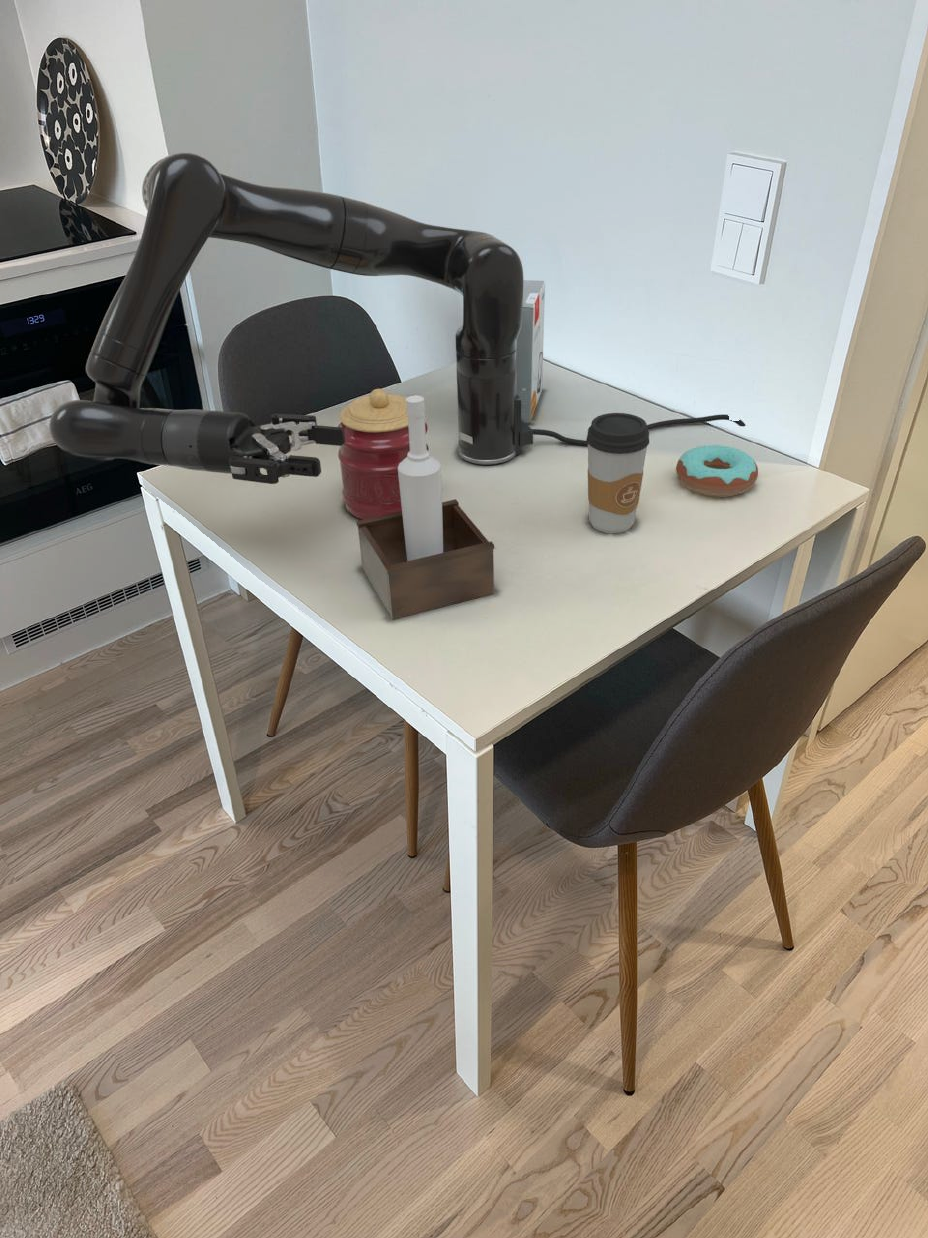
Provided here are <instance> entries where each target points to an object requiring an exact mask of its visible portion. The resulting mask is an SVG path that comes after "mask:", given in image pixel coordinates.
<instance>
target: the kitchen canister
mask: <svg viewBox="0 0 928 1238" xmlns="http://www.w3.org/2000/svg"><path fill="white" fill-rule="evenodd" d="M406 399H407V397H406V398H405V397H404V396H402V395H398V394H393V393H388V392H387V391H386V390H385V389H383V388H375V389H373V390H372V391H371V392H370V393H369V394H368V395H364V396H361V397H359V398H357V399H355V400H353V401H351V403H350V404H348V405H347V406H345V407H344V408H343V409H342V410H341V411H340V413H339V420H340V423H339V424H338V425H337V427H341V428H343V429H344V433H345V443H344V444H343V445H342V446H339V449H338V452H337V453H338V454H337V457H338V460H339V463H340V472H341V473H340V474H341V480H342V499H343V502H344V504H345V507H346V511H348V513H349V514H351V515H352V516H353V517H355V518H357V519H359V520H364V519H369V518H373V517H378V516H382V515H387V514H391V513H396V512H400V511H402V505H401V495H400V485H399V476H398V466H399V464H400V463H401V462H402V461H403V460H404V459H405V458H406V457H407V454H408V452H409V451H410V443H409V428H408V415H407V405H406ZM428 427H429V426H428V424H427V422H426V421H425V432H426V434H427V433H428ZM426 448H427V450H428V451H429V449H430V448H429V445H428V443H427V442H426ZM429 452H430V451H429Z"/></svg>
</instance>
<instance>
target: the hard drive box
mask: <svg viewBox="0 0 928 1238" xmlns="http://www.w3.org/2000/svg"><path fill="white" fill-rule="evenodd" d="M545 301H546V281H545V280H533V279H532V280H531V279H524V286H523V309H522V325H521V330H520V333H519V335H518V337H517V348H516V349H517V350H516V394H517V395H518V396H519V397H520V398H521V420H522V421H523V422H525V423H526V424H531V422H532V419H533V417H534V414H535V410H536V408H537V405H538V403H539V400H540V397H541V394H542V391H543V373H544V372H543V371H544V340H545V339H544V338H545V335H544V334H545V332H544V331H545Z"/></svg>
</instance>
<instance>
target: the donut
mask: <svg viewBox="0 0 928 1238" xmlns="http://www.w3.org/2000/svg"><path fill="white" fill-rule="evenodd" d="M675 471H676V475H677V479H678V481H679V482H680V483H681V485H683V486H684V487H685V488H687V489H688V490H690V491H693V492H695V493H697V494H700V495H704V496H708V497H716V498H717V497H719V498H725V497H732V496H737V495H740V494H743V493H745V492H747V491H749V490H750V489H751V488H752V487H753V486H754V484H755V483H756V481H757V480H758V477H759V467H758V464H757V462H756V461H755V459H754V458H753V457H752V456H751V455H750V454H748V453H747V452H746V451H743V450H741V449H738V448H735V447H731V446H727V445H719V444H710V445H709V444H707V445H701V446H700V445H699V446H696V447H693V448H690V449H688V450H686V451H685V452H684V453H683V454H682V455H681V456H680V457H679V458H678V460H677V463H676V467H675Z"/></svg>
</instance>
